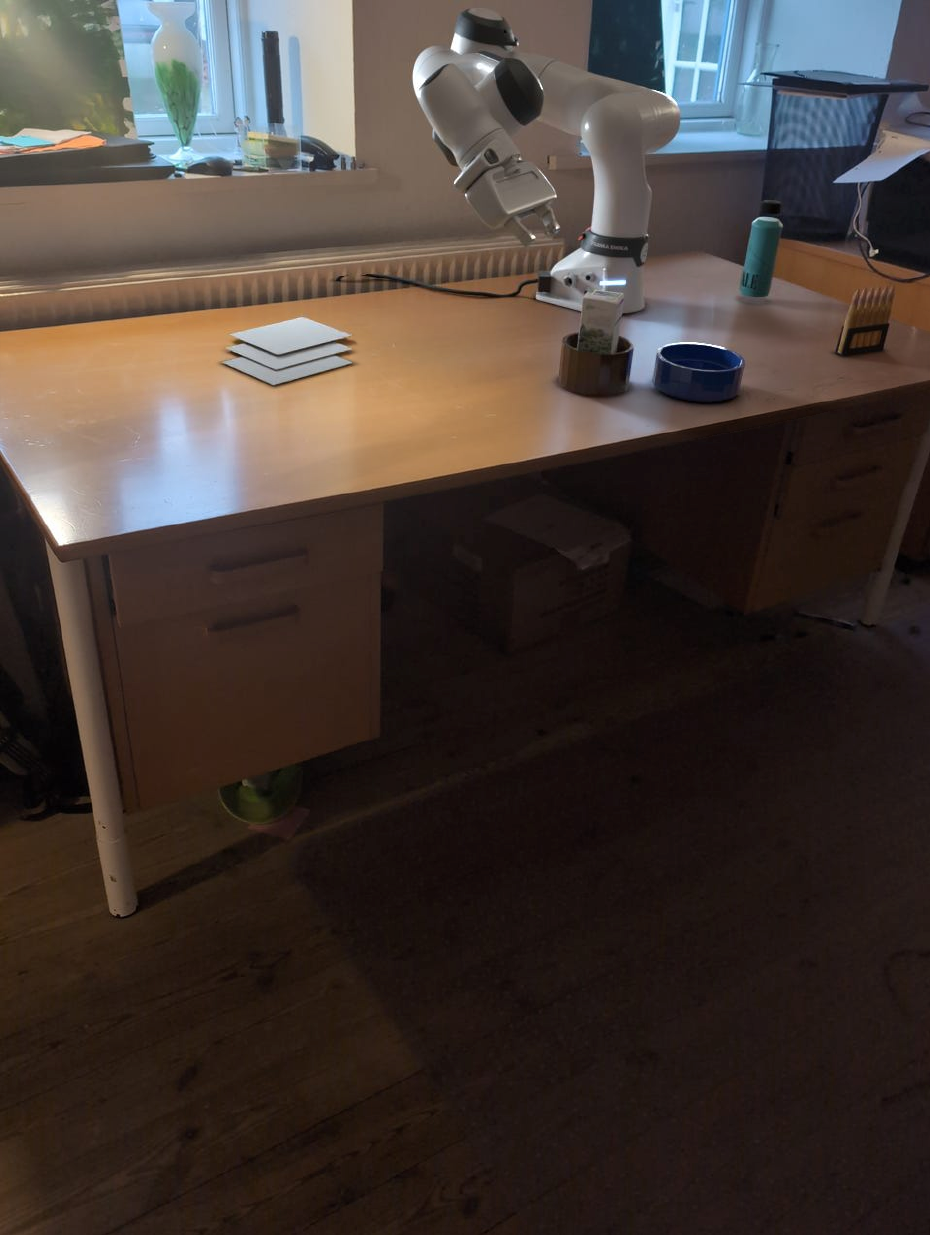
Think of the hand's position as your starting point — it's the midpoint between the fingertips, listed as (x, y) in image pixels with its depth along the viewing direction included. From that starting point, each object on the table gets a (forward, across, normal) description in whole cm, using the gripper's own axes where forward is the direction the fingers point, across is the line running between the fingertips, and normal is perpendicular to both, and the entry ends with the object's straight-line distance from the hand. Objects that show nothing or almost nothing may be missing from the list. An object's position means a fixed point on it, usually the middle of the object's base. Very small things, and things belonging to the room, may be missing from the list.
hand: (543, 238), depth 159 cm
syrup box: (+23, 0, -7) cm, 24 cm away
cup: (+23, 0, -7) cm, 24 cm away
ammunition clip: (+48, -46, +17) cm, 69 cm away
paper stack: (-12, +16, -43) cm, 47 cm away
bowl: (+34, -8, +3) cm, 35 cm away
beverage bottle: (+30, -68, -1) cm, 74 cm away
